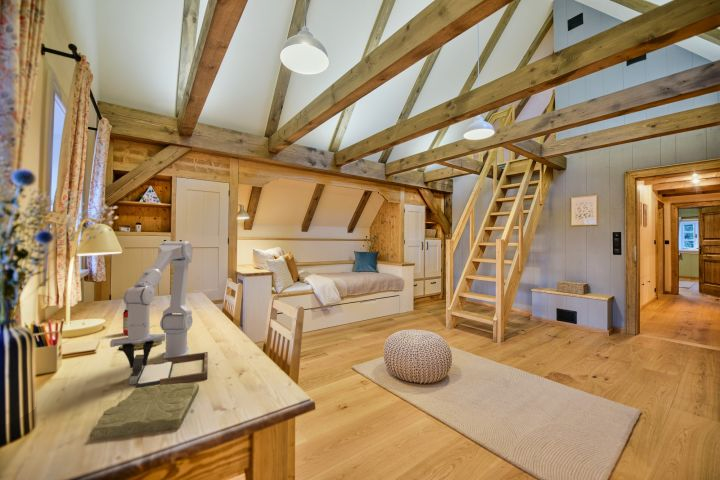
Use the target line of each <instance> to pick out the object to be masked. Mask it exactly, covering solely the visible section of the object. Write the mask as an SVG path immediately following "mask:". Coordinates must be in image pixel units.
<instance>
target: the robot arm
mask: <svg viewBox="0 0 720 480" xmlns="http://www.w3.org/2000/svg"><path fill="white" fill-rule="evenodd" d="M193 251H194V248H193V246H192V243H190V241H189V240H185V241H173V240H172V241H168V240H165V241H162V242H161V244H160V245H159V247H158V255H157V257H156V259H155V260H154V262H153V264H152V266H151V268H147V269H146V270H144V272H143V273H142V274H141V275H140V277H139V278H138V280H137V281H136V282H135V284H134V285H133V286H131V287H128V288H127V289H126V290H125V292H124V295H123V297H122V298H123V299H122V300H123V302H124V304H125V309H127V310H128V335H127V336H125V337H120V338H114V339H111V340H110V341H109V345H110V348H114V347H120V346H122V345H123V348H122V350H123V351H122V350H121V351H122V352H123V353H124V354H125V357H126V358H127V360H128V364H129V368H131V369H132V368H133V362H134V358H135V351H134V346H135V344H139V343H145V344H144V345H143V349H142V351H143V355H144V359H143V366H146V365H148V364H147V363H148V361H149V360H148V358H149V355H150V352H151V351H152V348H153V347H152V346H153V344H154V342H156V341H162V342H165V353H164V355H163V357H162V358H163V359H165V360H166V359H168V357H173V356H181V355H188V354H189V351H190V347H189V346H188V331H189V330H190V329H191V327H192V326H193V314H192V312H193V311H192V310H191V309H190V308H188V307H187V306H186V300H187V299H186V298H187V289H188V279H189V277H188V276H189V267H190V263H192V260H193ZM169 264H172V265H173V273H172V281H171V282H172V283H171V284H172V285H171V294H170V303H169V307H167V308H166V309H164V310H163V311H162V316H161V319H160V322H159V326H160V328H161V330H162V331H163V333H161V334H159V333H157V334H152V333H151V334H150V315H151V314H150V306H151V303H152V302H153V300H154V297H155V293H156V288H157V287H158V285H159V284H160V282H161V280H162V279H163V275H162V272H164V271H165V269H166V268H167V267H168V265H169Z"/></svg>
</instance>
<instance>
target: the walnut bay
mask: <svg viewBox="0 0 720 480" xmlns="http://www.w3.org/2000/svg"><path fill="white" fill-rule="evenodd" d="M208 354H209V352H208V351H204V352H197V353H191V354H190V353H188V355H181V356H173V357H168V358H167V362H173V364H175V363H182V362H190V361H196V360H202V359H203V360H204V365H203V367H204V368H203V371H202V372H196V373H189V374H183V375H182V374H181V375H177V376H172V377H171V376H170V378H163V379H160V384H159V385H167V384H178V383H193V382H196V381H197V382H198V381H203V380H208V369H209V368H208V364H209V361H208V360H209V359H208V358H209V357H208V356H209V355H208Z"/></svg>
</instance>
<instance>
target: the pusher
mask: <svg viewBox="0 0 720 480" xmlns="http://www.w3.org/2000/svg"><path fill="white" fill-rule="evenodd" d="M143 359H144V354H136V355H134V362H133V368H131V372H132V373H131V374H130V376H129V384H128V385H132V386H133V385H136V383H137V381H138V379H139V377H140V375H141V372H142V370H143V368H144V366H143Z"/></svg>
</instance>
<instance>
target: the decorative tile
mask: <svg viewBox="0 0 720 480" xmlns="http://www.w3.org/2000/svg"><path fill="white" fill-rule="evenodd" d="M199 390H200V384H199V383H197V382H186V383H178V384H167V385H160V384H157V385H151V386H145V387H137V388H133V390H132V392H131V393H130V394H129V395H127V396H126V398H125V399H123V400H121V401H119V402H118V403H117V404H116V405H115V406H111V407H109V408H108V409H106V410H104V411H103V414H102V415H101V416H100V418H98V420H97V424H96V425H95V426H94V427H93V428H92V433H91V439H90V441H95V440H96V441H97V440H102V439H113V438H119V437H128V436H134V435H142V434H150V433H157V432H164V431H172V430H178V429H180V428H181V426H182V424H183V422H184V420H185V418H186V416H187V414H188V413H189V411H190V409H191V406H192V405H193V402H194V401H195V399H196V396H197V394H198V393H199Z"/></svg>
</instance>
